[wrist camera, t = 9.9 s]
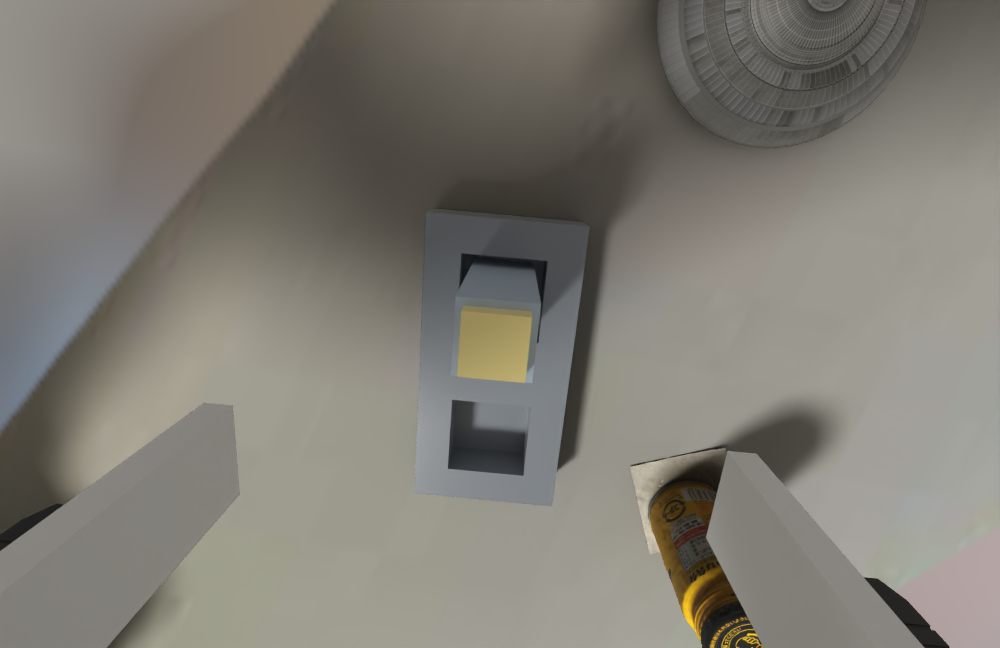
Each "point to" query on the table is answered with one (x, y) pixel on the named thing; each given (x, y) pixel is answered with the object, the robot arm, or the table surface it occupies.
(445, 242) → the panel
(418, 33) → the table surface
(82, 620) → the robot arm
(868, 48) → the flying saucer
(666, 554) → the condiment
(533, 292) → the plug
